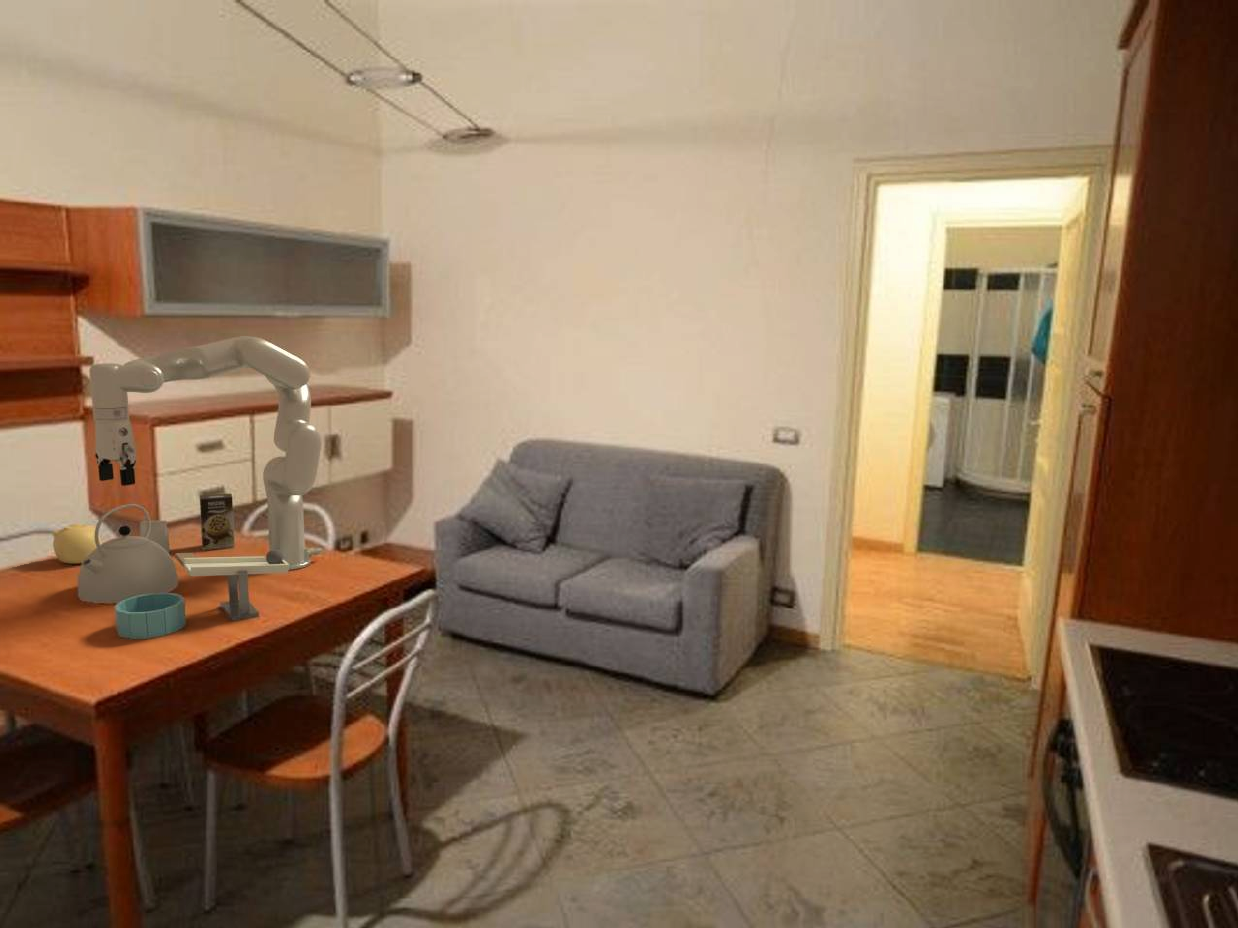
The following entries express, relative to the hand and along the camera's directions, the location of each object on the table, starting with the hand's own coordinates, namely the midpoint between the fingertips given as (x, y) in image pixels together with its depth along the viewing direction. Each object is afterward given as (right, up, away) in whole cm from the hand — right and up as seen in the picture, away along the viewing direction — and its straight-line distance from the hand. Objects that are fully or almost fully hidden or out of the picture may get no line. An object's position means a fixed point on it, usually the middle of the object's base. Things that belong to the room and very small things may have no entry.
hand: (117, 482), depth 207 cm
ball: (+39, -19, 0) cm, 43 cm away
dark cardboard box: (+1, -21, +50) cm, 55 cm away
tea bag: (-14, -22, +42) cm, 49 cm away
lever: (+29, -22, -1) cm, 36 cm away
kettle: (-4, -29, +10) cm, 30 cm away
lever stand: (+32, -32, -3) cm, 45 cm away
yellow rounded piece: (-31, -24, +32) cm, 50 cm away
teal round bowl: (+17, -33, -15) cm, 40 cm away
